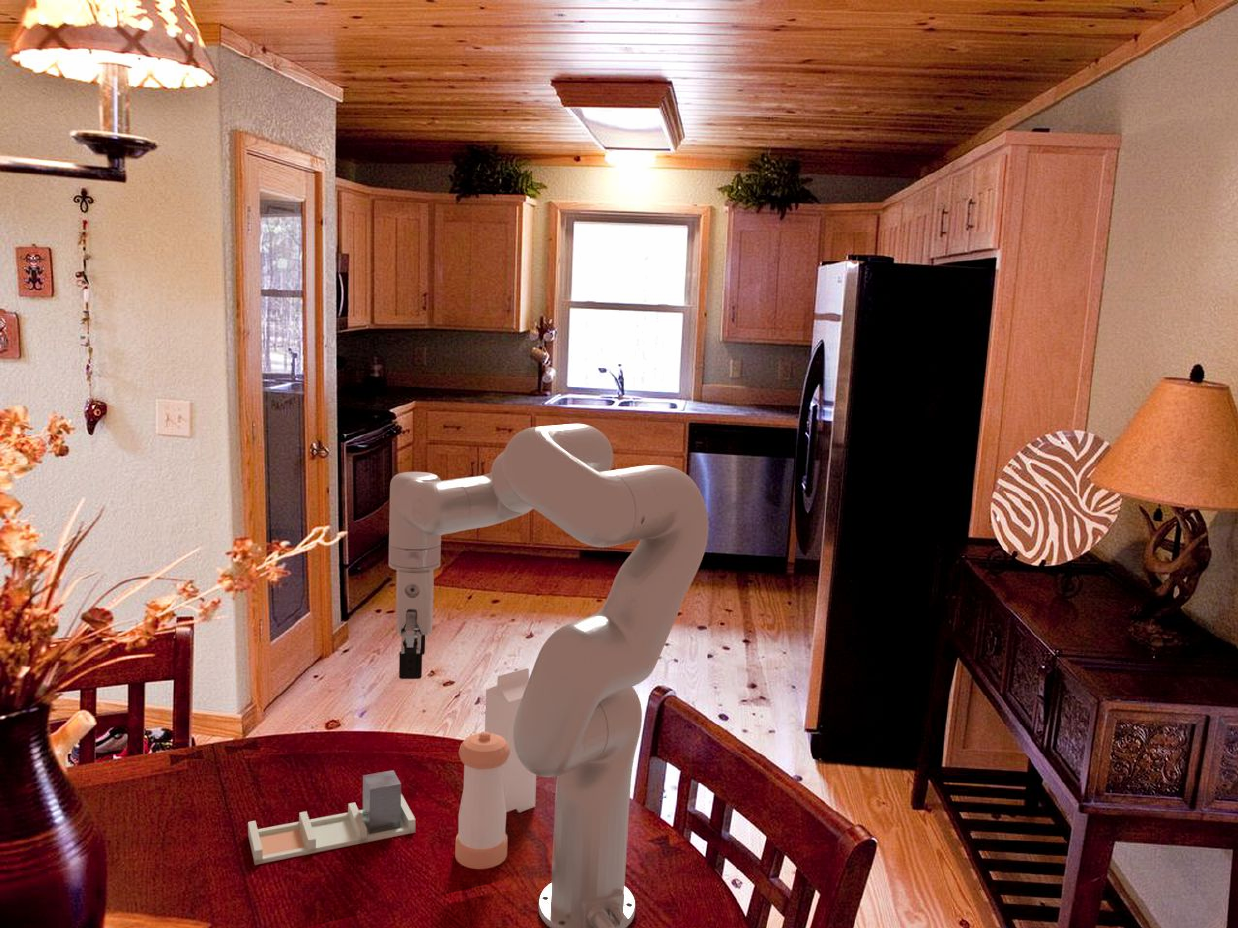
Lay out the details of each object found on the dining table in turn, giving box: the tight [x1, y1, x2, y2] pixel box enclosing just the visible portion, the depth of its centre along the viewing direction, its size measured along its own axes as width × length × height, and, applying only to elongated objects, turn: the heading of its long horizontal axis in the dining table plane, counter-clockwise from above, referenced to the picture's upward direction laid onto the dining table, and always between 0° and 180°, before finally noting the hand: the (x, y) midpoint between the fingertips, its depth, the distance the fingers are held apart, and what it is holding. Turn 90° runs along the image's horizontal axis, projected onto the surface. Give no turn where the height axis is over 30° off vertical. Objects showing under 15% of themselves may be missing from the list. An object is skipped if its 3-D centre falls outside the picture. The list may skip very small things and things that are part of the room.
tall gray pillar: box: [362, 769, 402, 834], centre depth 140 cm, size 4×4×7 cm
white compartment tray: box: [247, 793, 416, 866], centre depth 138 cm, size 8×22×3 cm, turn 117°
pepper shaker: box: [454, 730, 510, 870], centre depth 133 cm, size 7×7×19 cm
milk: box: [484, 667, 537, 813], centre depth 148 cm, size 6×6×22 cm
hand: (412, 665), depth 144 cm, fingers open, 9 cm apart
